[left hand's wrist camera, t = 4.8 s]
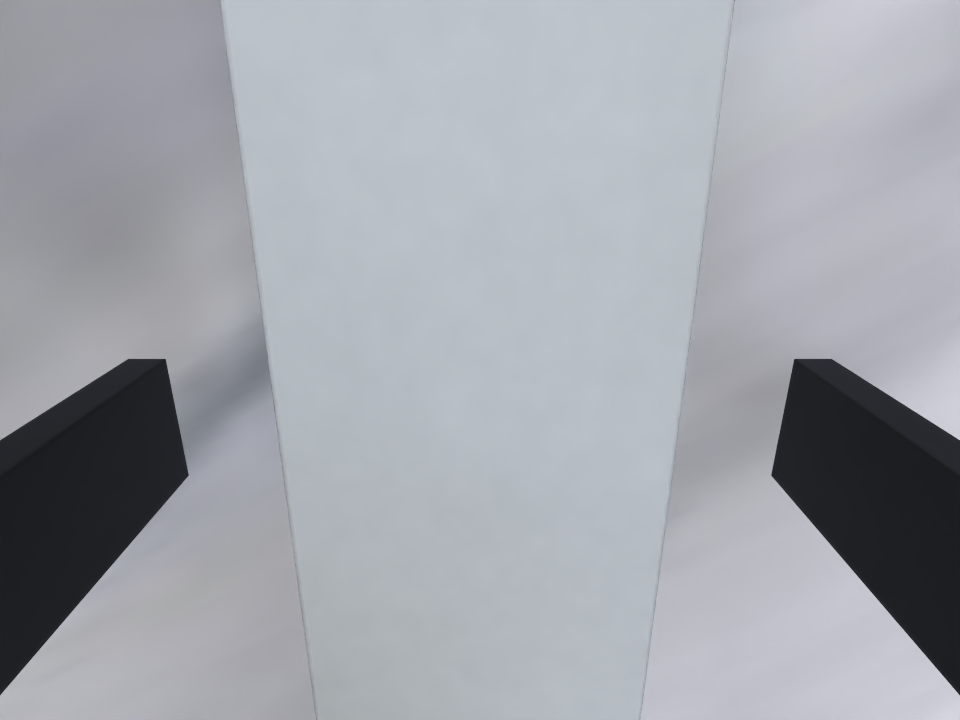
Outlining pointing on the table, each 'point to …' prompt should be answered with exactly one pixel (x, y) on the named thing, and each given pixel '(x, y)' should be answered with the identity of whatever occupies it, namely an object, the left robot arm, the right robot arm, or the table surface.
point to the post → (477, 332)
